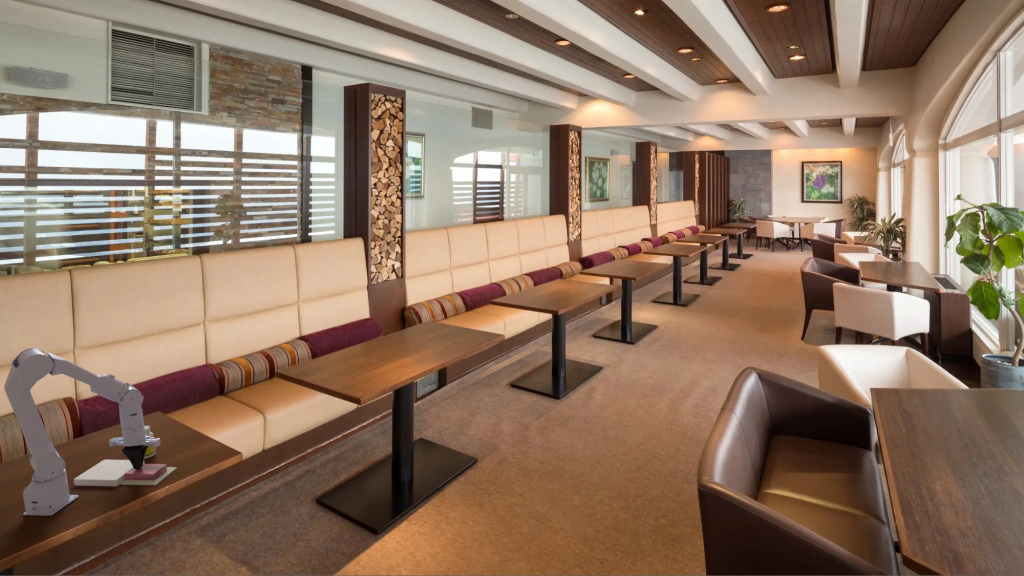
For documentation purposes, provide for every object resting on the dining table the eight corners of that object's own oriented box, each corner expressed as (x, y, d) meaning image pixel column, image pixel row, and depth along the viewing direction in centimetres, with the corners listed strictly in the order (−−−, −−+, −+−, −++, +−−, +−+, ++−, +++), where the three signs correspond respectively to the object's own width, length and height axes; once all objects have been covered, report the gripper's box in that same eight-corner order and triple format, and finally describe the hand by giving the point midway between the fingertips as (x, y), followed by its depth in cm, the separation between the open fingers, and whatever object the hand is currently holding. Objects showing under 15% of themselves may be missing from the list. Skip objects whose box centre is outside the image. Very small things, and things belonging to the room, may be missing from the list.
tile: (154, 480, 168) (153, 474, 168) (125, 479, 168) (124, 473, 168) (167, 470, 174) (166, 464, 174) (138, 469, 174) (138, 463, 174)
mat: (155, 485, 166) (155, 484, 166) (120, 484, 166) (120, 483, 166) (176, 468, 176) (176, 467, 176) (143, 467, 176) (143, 466, 176)
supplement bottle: (159, 454, 185) (155, 426, 184) (142, 460, 181) (138, 433, 179) (150, 450, 188) (146, 423, 186) (133, 457, 183) (129, 429, 182)
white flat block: (117, 486, 166) (116, 480, 165) (74, 485, 166) (73, 479, 166) (144, 466, 177) (144, 460, 177) (105, 465, 178) (104, 459, 177)
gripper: (164, 420, 172) (169, 461, 174) (119, 419, 173) (124, 460, 175) (149, 430, 165) (154, 473, 167) (101, 429, 166) (107, 472, 168)
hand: (138, 467), depth 171 cm, fingers closed
